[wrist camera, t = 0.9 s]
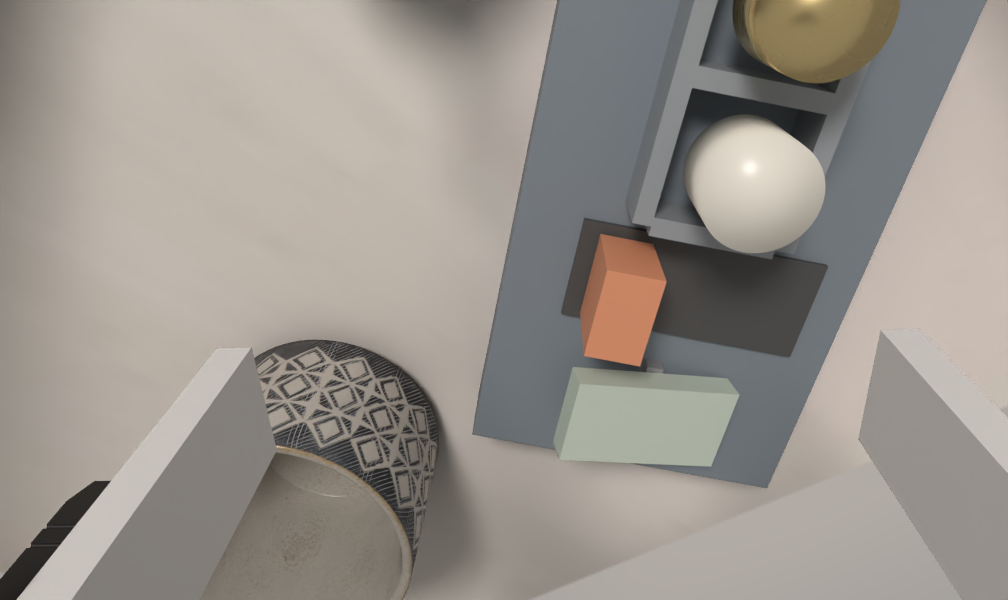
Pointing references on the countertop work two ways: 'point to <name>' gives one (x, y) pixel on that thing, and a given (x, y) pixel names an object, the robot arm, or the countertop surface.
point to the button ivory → (753, 183)
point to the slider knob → (621, 300)
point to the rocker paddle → (643, 417)
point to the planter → (333, 480)
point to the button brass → (814, 34)
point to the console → (676, 223)
